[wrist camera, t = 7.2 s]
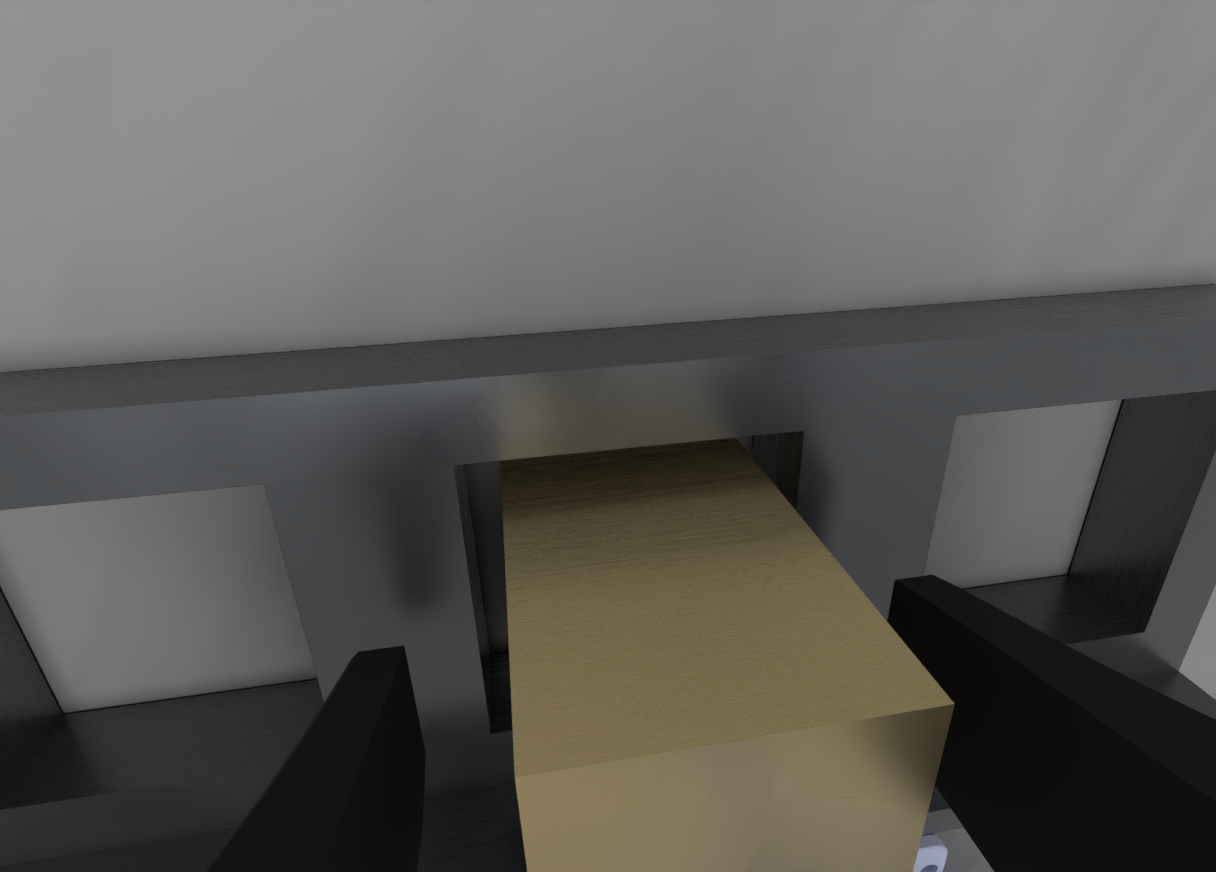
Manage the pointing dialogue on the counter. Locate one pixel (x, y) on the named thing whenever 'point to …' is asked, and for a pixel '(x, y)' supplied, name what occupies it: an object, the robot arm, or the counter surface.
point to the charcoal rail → (555, 425)
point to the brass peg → (702, 676)
